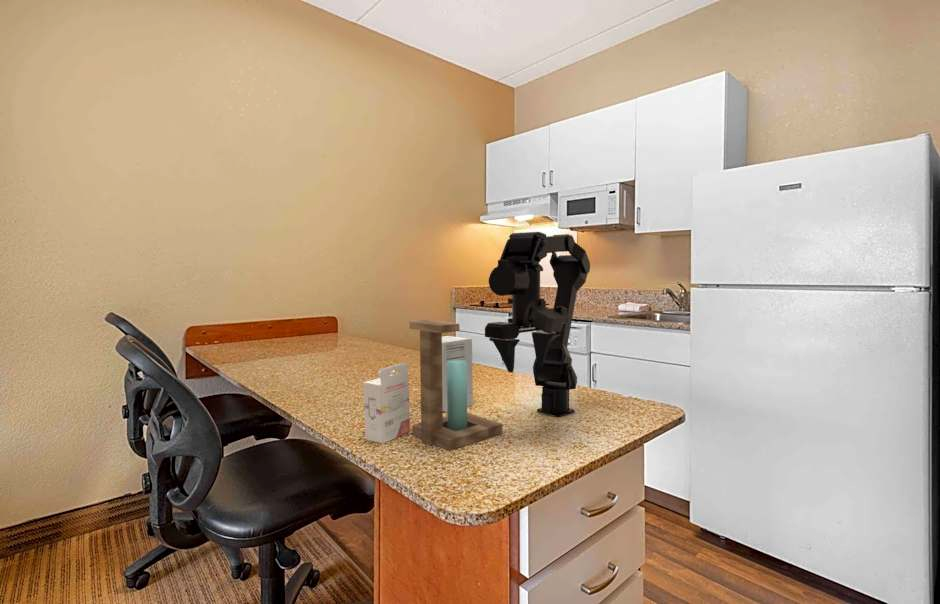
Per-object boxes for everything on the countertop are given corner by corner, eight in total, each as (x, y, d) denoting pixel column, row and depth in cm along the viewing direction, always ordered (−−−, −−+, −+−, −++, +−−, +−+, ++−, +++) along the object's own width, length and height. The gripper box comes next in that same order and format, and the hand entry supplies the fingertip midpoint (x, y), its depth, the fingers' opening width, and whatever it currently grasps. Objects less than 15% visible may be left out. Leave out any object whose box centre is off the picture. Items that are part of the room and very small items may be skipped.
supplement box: (474, 405, 119) (473, 338, 118) (445, 413, 112) (445, 342, 111) (449, 398, 126) (448, 334, 125) (421, 405, 119) (420, 338, 118)
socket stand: (464, 420, 107) (463, 316, 105) (502, 433, 98) (502, 320, 96) (408, 435, 97) (406, 321, 95) (445, 452, 88) (444, 325, 86)
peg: (465, 430, 100) (464, 359, 99) (468, 436, 96) (468, 363, 95) (446, 431, 99) (445, 360, 98) (449, 438, 95) (448, 364, 94)
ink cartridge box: (392, 427, 102) (391, 359, 101) (410, 431, 99) (409, 362, 98) (363, 440, 95) (362, 366, 94) (382, 444, 92) (381, 369, 91)
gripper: (525, 296, 86) (525, 382, 87) (585, 293, 98) (585, 368, 99) (482, 295, 94) (483, 373, 95) (543, 292, 106) (543, 361, 107)
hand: (526, 369), depth 99 cm, fingers open, 9 cm apart
